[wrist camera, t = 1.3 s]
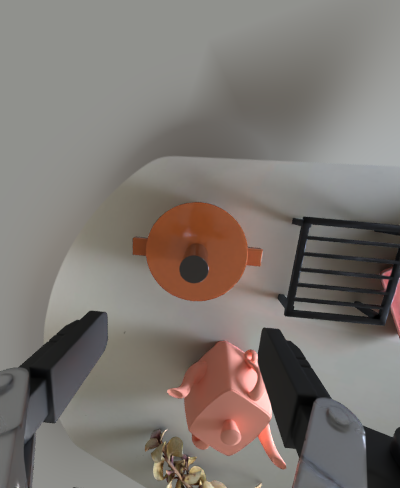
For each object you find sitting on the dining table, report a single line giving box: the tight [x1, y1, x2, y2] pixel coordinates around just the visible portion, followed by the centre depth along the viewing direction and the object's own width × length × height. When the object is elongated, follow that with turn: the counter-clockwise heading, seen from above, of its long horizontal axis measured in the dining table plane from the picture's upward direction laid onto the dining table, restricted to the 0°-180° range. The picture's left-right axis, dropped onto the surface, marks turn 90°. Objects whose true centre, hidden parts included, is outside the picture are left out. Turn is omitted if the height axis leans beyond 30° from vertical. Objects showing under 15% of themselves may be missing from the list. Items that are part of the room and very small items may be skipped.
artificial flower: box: [145, 429, 262, 488], centre depth 42 cm, size 10×14×30 cm
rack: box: [278, 217, 400, 326], centre depth 32 cm, size 16×16×5 cm
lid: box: [146, 202, 248, 301], centre depth 23 cm, size 13×13×7 cm
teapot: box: [167, 341, 286, 469], centre depth 33 cm, size 15×17×13 cm
